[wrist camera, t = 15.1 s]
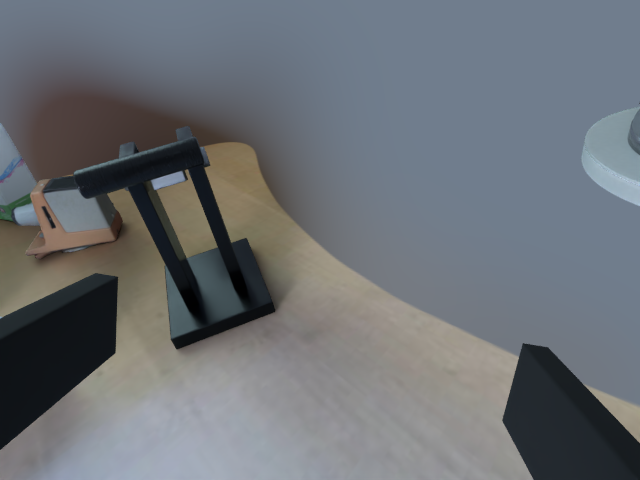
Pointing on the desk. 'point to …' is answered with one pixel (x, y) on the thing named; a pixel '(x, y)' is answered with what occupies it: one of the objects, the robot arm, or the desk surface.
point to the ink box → (13, 177)
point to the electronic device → (67, 218)
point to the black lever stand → (202, 265)
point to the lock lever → (141, 169)
